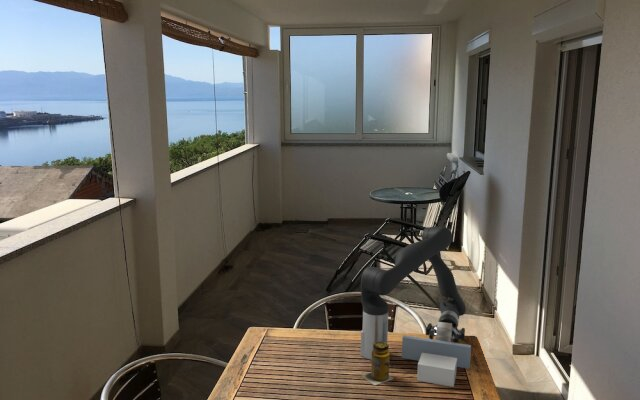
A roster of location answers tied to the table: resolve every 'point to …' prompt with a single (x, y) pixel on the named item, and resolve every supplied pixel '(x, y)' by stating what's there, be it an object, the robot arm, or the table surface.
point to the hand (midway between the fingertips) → (443, 339)
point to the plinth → (437, 369)
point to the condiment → (379, 364)
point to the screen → (435, 349)
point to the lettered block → (444, 331)
